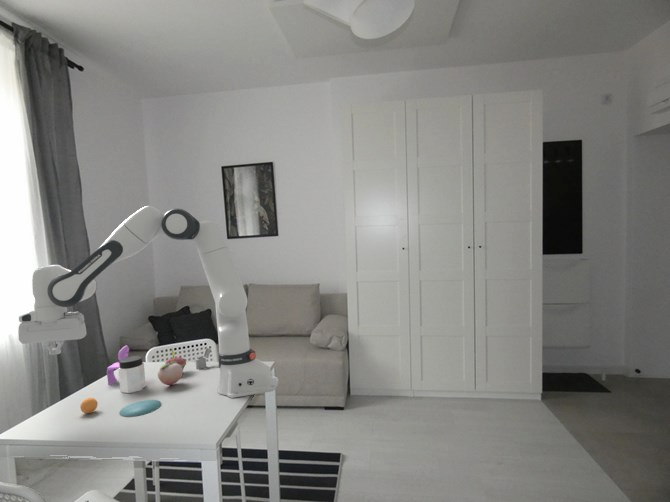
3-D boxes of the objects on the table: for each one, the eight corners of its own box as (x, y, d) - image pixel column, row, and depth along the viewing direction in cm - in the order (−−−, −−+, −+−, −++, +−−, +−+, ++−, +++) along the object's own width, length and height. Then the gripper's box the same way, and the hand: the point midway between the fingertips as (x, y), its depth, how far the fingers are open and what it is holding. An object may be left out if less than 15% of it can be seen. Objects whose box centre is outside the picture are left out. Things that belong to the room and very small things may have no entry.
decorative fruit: (173, 390, 153) (171, 364, 152) (155, 389, 155) (153, 364, 154) (188, 381, 162) (186, 357, 161) (171, 380, 164) (169, 356, 163)
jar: (121, 395, 151) (118, 364, 151) (119, 389, 158) (116, 359, 158) (147, 389, 156) (144, 358, 156) (144, 383, 163) (141, 354, 163)
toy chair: (116, 379, 171) (113, 344, 170) (136, 377, 171) (134, 342, 170) (105, 386, 162) (102, 350, 162) (127, 384, 163) (124, 348, 162)
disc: (166, 398, 145) (166, 398, 145) (152, 414, 132) (152, 414, 132) (129, 402, 144) (129, 401, 144) (111, 418, 131) (111, 417, 131)
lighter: (198, 369, 176) (197, 351, 176) (196, 369, 177) (194, 351, 177) (212, 364, 182) (210, 347, 182) (209, 364, 183) (208, 347, 183)
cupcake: (182, 377, 168) (179, 348, 167) (162, 378, 168) (159, 350, 167) (189, 370, 176) (187, 343, 176) (170, 371, 176) (168, 344, 176)
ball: (101, 408, 140) (99, 394, 139) (93, 415, 135) (91, 400, 134) (86, 410, 139) (84, 396, 139) (77, 416, 134) (76, 401, 134)
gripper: (88, 309, 139) (92, 348, 139) (26, 314, 138) (30, 353, 138) (77, 312, 133) (81, 354, 133) (13, 317, 131) (17, 359, 132)
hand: (55, 354), depth 136 cm, fingers closed
